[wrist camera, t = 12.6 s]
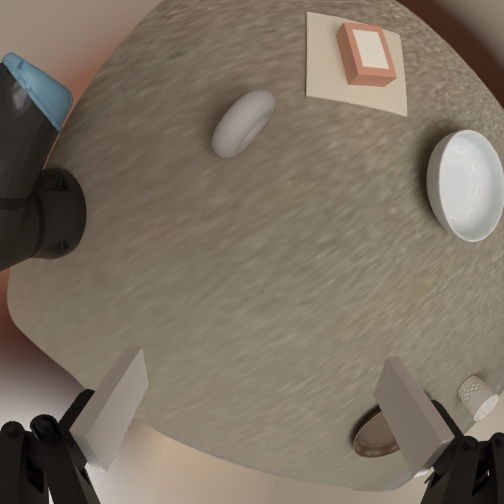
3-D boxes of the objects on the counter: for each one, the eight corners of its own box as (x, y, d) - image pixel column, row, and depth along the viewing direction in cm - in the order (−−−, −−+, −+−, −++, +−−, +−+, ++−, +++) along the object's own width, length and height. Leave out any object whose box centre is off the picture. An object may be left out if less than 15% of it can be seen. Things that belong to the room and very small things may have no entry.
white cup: (476, 388, 47) (494, 409, 37) (453, 402, 47) (471, 426, 38) (480, 367, 45) (501, 389, 35) (457, 382, 46) (477, 407, 36)
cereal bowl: (461, 250, 39) (486, 260, 32) (397, 204, 37) (422, 208, 30) (489, 169, 35) (514, 170, 28) (431, 114, 34) (456, 106, 27)
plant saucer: (428, 372, 45) (435, 381, 42) (431, 421, 49) (436, 429, 46) (340, 417, 47) (343, 428, 44) (358, 458, 51) (361, 467, 48)
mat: (305, 96, 34) (306, 95, 33) (306, 13, 30) (306, 11, 30) (405, 117, 34) (407, 116, 33) (398, 36, 30) (399, 34, 30)
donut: (258, 98, 34) (260, 71, 24) (278, 113, 35) (286, 89, 25) (212, 151, 36) (197, 140, 26) (231, 167, 37) (223, 160, 27)
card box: (335, 35, 31) (343, 21, 26) (370, 39, 30) (381, 26, 26) (348, 85, 33) (358, 74, 28) (384, 87, 33) (397, 77, 28)
